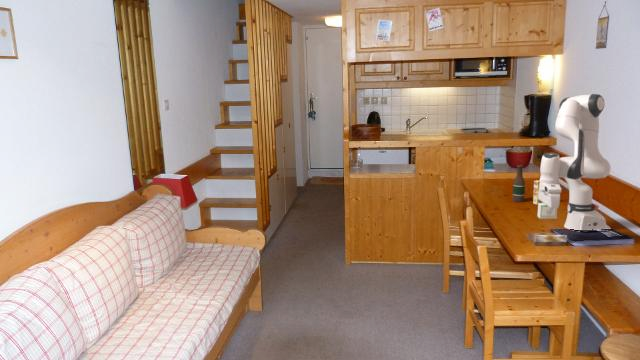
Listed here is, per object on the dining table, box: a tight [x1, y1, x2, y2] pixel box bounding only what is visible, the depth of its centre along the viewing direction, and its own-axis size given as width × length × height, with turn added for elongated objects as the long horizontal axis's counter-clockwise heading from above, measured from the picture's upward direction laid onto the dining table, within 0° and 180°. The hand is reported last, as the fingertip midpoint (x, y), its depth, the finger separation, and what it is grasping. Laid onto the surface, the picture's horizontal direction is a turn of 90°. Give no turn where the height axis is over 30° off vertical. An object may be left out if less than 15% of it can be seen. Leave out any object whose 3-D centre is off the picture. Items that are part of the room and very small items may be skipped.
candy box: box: [532, 179, 543, 206], centre depth 334 cm, size 9×4×15 cm, turn 107°
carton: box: [537, 203, 558, 220], centre depth 261 cm, size 4×8×7 cm, turn 85°
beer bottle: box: [512, 164, 526, 203], centre depth 341 cm, size 8×8×24 cm
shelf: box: [525, 232, 568, 247], centre depth 264 cm, size 15×14×5 cm
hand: (547, 212), depth 261 cm, fingers closed on carton, 4 cm apart
